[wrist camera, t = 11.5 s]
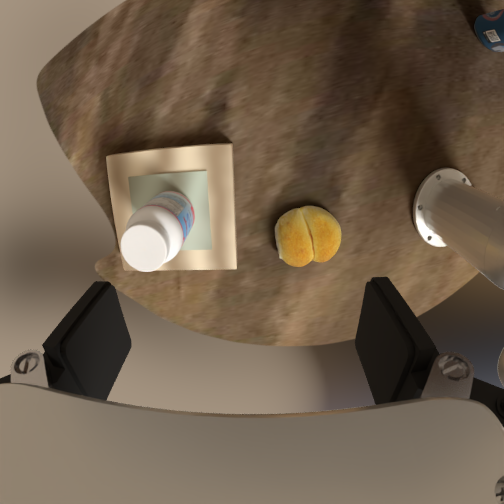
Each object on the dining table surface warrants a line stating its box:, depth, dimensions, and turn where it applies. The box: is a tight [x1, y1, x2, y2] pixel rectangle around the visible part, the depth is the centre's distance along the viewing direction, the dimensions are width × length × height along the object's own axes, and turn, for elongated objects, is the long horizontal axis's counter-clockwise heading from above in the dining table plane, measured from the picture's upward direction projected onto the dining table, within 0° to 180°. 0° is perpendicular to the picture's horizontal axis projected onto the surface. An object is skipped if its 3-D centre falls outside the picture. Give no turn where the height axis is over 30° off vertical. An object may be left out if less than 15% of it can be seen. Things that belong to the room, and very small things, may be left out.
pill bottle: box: [120, 191, 195, 272], centre depth 30 cm, size 6×6×11 cm
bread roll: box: [275, 206, 341, 267], centre depth 39 cm, size 8×9×4 cm
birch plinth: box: [106, 143, 237, 270], centre depth 37 cm, size 16×16×3 cm
